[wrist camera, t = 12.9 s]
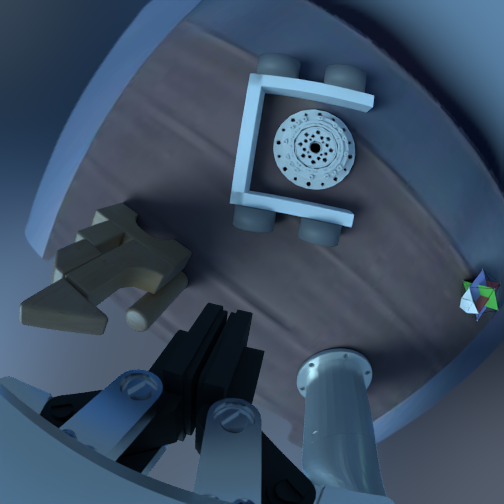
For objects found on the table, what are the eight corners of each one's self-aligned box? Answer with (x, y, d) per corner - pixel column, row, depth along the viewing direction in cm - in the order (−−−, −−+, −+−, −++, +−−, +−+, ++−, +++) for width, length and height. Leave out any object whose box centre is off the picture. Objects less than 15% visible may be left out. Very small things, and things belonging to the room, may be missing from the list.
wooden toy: (108, 237, 41) (-17, 300, 18) (122, 202, 39) (-19, 249, 16) (183, 292, 42) (83, 406, 18) (203, 258, 39) (92, 370, 16)
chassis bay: (342, 240, 35) (348, 251, 31) (233, 218, 37) (223, 226, 32) (369, 84, 29) (379, 73, 24) (258, 65, 30) (251, 51, 26)
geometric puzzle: (496, 256, 29) (497, 290, 25) (503, 290, 30) (502, 326, 26) (458, 266, 35) (452, 300, 31) (467, 298, 36) (461, 333, 32)
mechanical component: (322, 97, 31) (258, 140, 34) (324, 88, 26) (252, 136, 29) (367, 161, 32) (304, 203, 35) (376, 161, 28) (304, 208, 31)
